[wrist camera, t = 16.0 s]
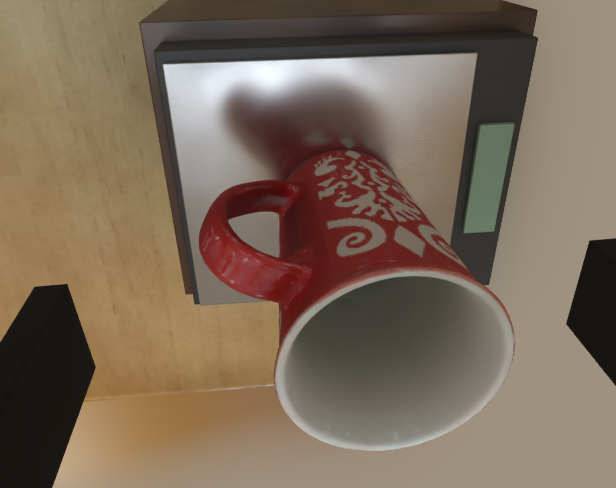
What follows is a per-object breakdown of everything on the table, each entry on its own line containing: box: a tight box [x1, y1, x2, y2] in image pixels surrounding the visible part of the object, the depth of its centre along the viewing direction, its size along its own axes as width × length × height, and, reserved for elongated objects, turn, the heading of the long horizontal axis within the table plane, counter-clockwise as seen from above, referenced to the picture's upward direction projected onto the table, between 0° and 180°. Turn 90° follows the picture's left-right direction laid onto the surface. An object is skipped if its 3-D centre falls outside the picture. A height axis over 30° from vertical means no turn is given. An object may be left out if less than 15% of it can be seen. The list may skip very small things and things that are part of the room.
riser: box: [139, 0, 537, 294], centre depth 41 cm, size 22×18×18 cm
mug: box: [199, 150, 515, 451], centre depth 24 cm, size 13×9×14 cm
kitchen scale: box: [153, 30, 538, 306], centre depth 32 cm, size 20×16×3 cm
